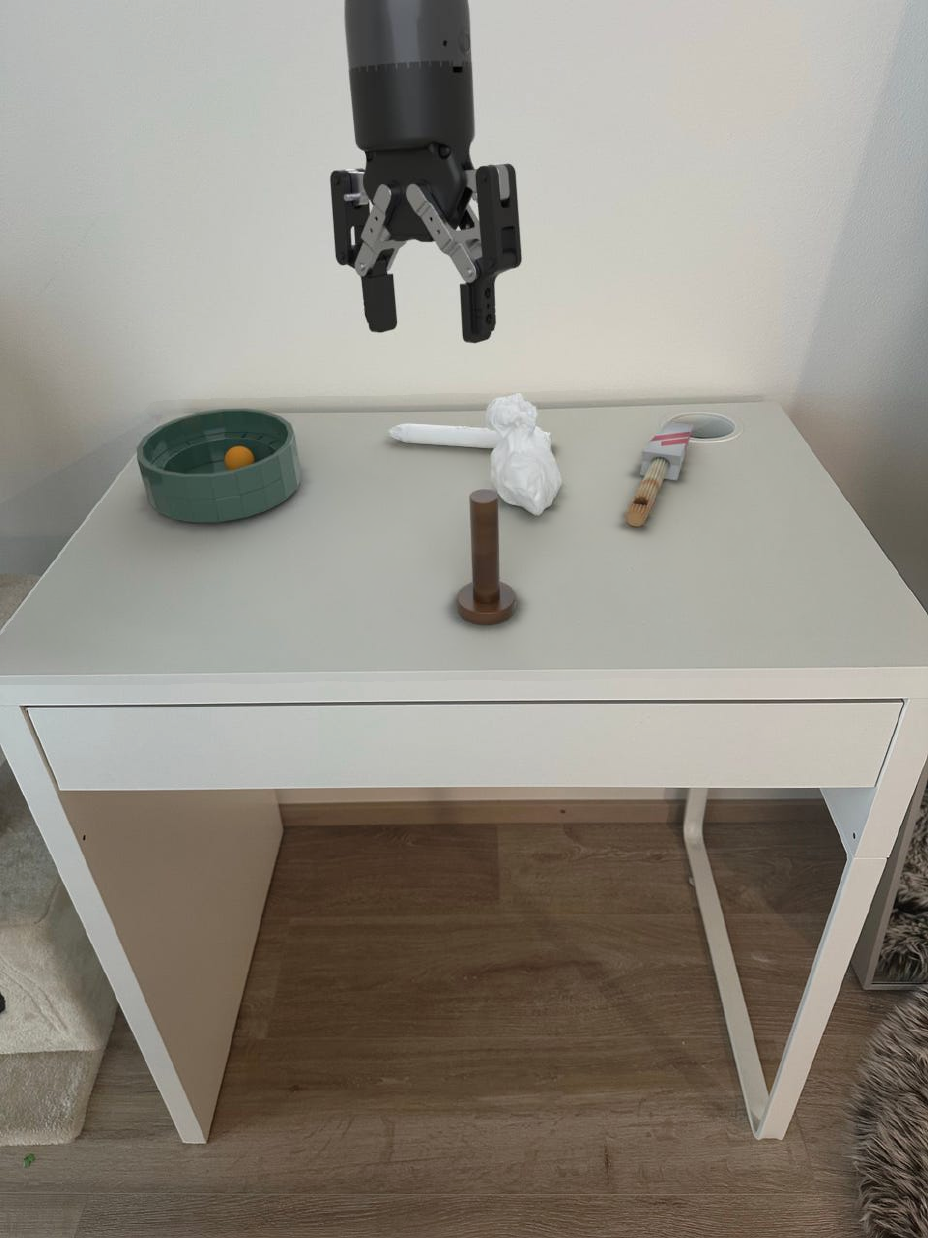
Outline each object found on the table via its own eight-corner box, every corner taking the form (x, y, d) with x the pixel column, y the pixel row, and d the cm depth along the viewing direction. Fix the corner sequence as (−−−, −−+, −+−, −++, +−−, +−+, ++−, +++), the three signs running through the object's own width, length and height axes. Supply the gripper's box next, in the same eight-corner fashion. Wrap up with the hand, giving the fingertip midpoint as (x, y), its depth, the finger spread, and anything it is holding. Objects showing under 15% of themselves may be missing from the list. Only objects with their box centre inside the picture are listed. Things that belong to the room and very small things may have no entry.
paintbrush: (700, 412, 99) (655, 509, 85) (697, 436, 101) (653, 535, 86) (664, 407, 100) (614, 502, 86) (662, 431, 102) (612, 527, 88)
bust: (527, 486, 98) (459, 405, 94) (587, 447, 95) (519, 361, 90) (517, 546, 89) (440, 459, 84) (582, 506, 85) (506, 413, 81)
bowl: (254, 537, 88) (244, 485, 84) (118, 515, 92) (104, 464, 89) (326, 465, 99) (319, 417, 96) (202, 448, 103) (192, 401, 100)
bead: (247, 482, 95) (242, 455, 94) (222, 478, 96) (216, 452, 94) (262, 469, 98) (257, 442, 96) (237, 465, 98) (231, 439, 97)
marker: (385, 444, 103) (383, 424, 101) (390, 436, 104) (389, 416, 103) (548, 455, 99) (548, 435, 98) (551, 447, 101) (551, 426, 99)
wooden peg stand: (505, 629, 75) (504, 515, 68) (449, 619, 76) (443, 506, 70) (522, 596, 78) (523, 485, 72) (468, 587, 80) (464, 477, 73)
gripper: (284, 70, 58) (317, 337, 66) (461, 47, 50) (476, 356, 57) (369, 70, 63) (390, 319, 71) (542, 50, 55) (546, 333, 62)
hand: (429, 335), depth 64 cm, fingers open, 8 cm apart
